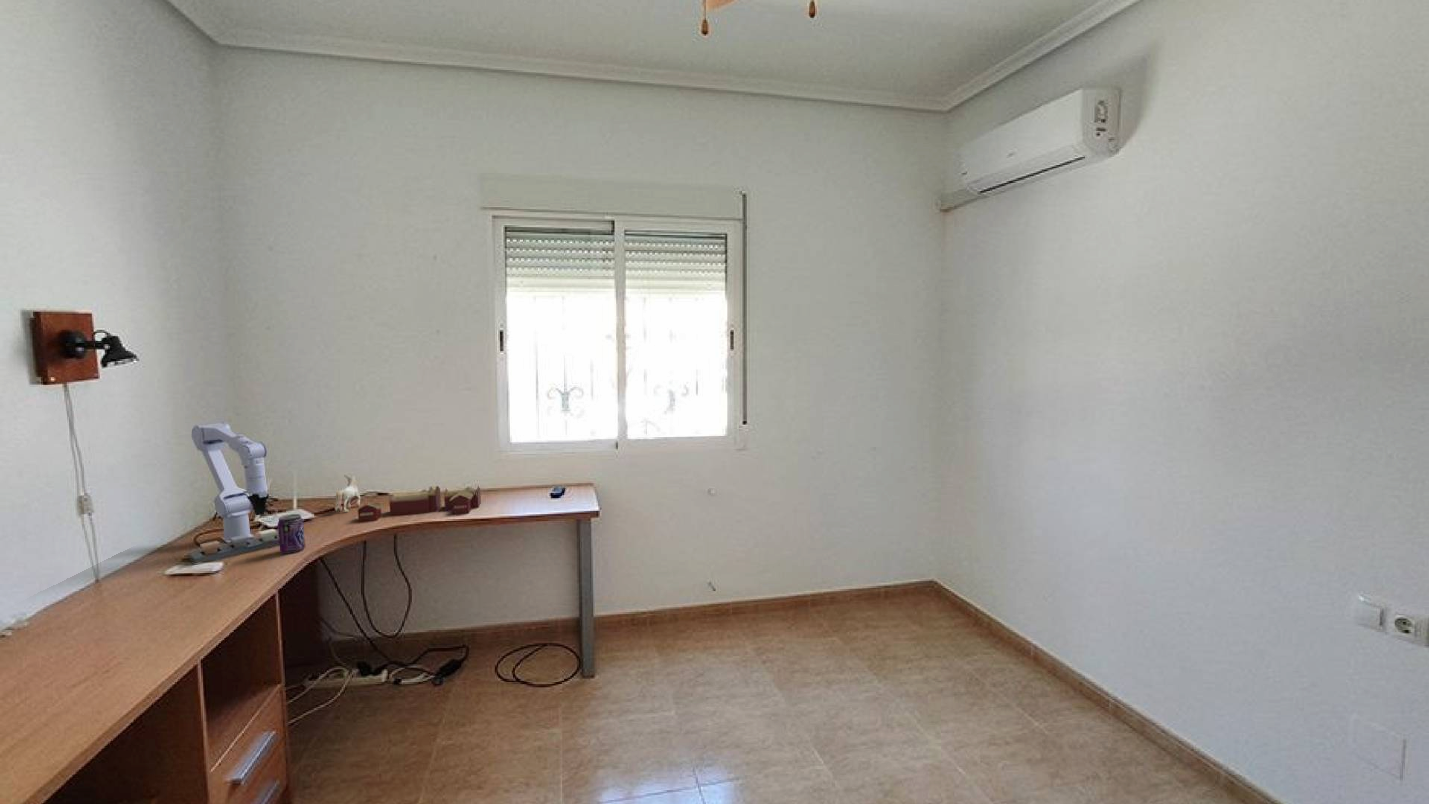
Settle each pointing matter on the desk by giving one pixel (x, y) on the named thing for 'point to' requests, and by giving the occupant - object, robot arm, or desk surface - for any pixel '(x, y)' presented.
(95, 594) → the desk surface
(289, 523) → the beverage can
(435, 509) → the toy houses
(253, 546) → the panel
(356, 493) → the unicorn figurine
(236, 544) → the light grey block
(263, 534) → the off-white block
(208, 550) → the terracotta key
